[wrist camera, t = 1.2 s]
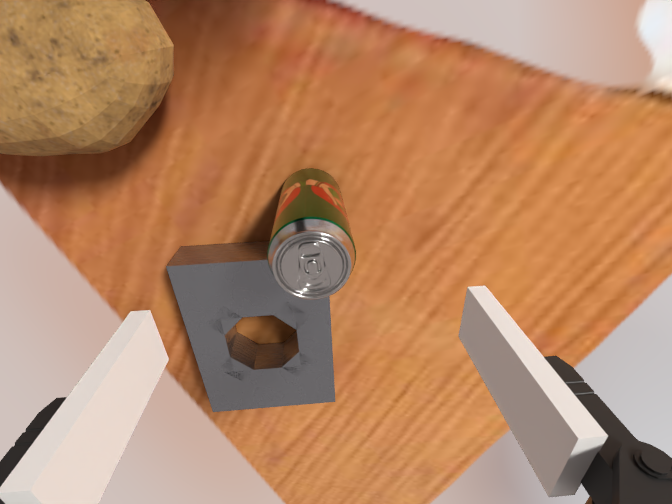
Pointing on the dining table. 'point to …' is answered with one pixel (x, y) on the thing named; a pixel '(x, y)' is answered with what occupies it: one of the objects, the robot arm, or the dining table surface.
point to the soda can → (311, 237)
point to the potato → (79, 74)
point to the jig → (235, 349)
